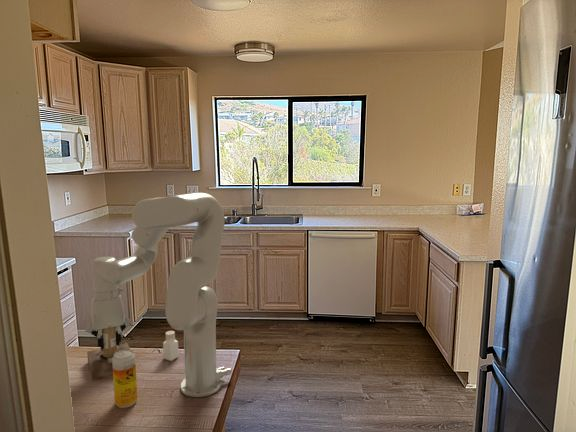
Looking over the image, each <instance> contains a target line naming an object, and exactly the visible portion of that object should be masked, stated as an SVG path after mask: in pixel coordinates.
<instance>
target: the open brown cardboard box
mask: <svg viewBox="0 0 576 432" xmlns="http://www.w3.org/2000/svg"><path fill="white" fill-rule="evenodd" d="M121 350H131V348H130V346H129V344H128V342H124V343H119V346H117V352H118V351H121ZM86 354H87V364H88V369H89V372H90V377H91V381H92V382H95V381H98V380H102V379H106V378H110V376H111V377H113V365H112V359H113V357H104V356H103V349H101V348H97V349H94V350H93V349H92V350H88V351H87V352H86Z"/></svg>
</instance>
